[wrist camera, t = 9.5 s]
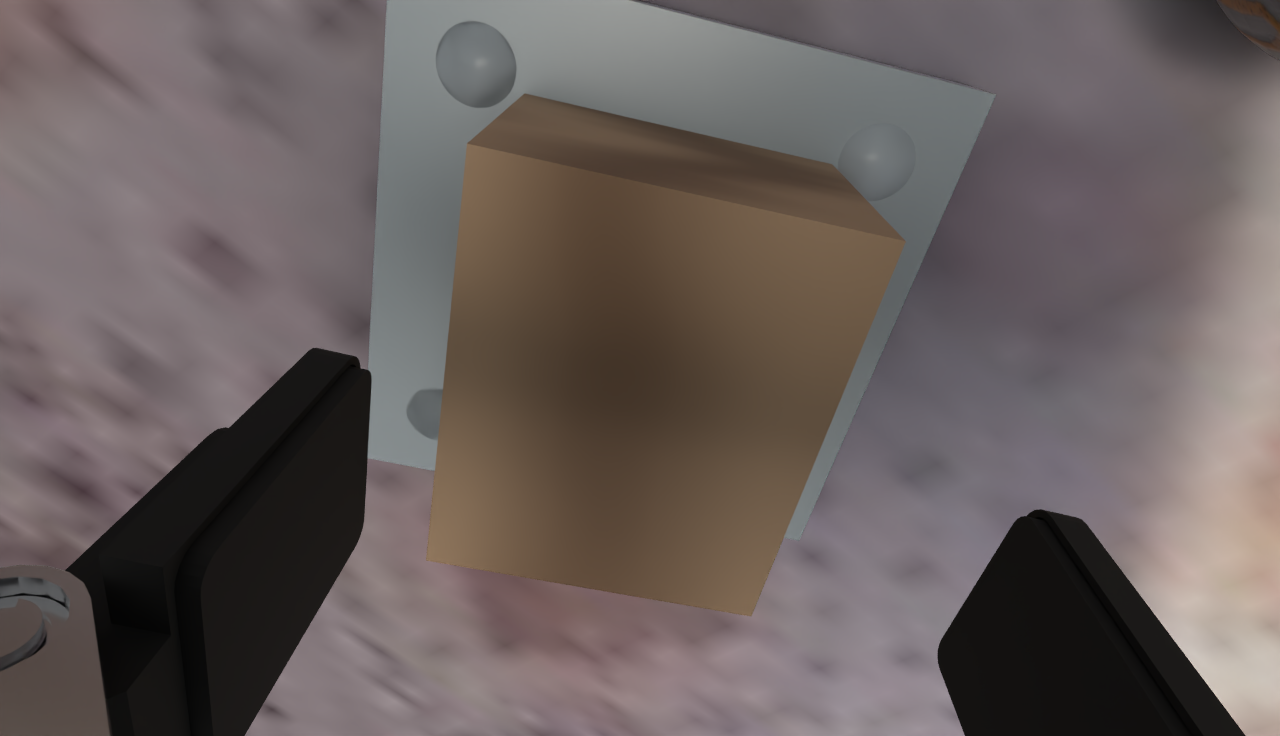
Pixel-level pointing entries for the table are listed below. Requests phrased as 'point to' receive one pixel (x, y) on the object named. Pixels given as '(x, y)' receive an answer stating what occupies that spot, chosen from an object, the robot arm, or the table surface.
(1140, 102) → the table surface
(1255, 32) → the vase
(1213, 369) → the table surface
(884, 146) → the build plate
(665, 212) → the walnut brick
